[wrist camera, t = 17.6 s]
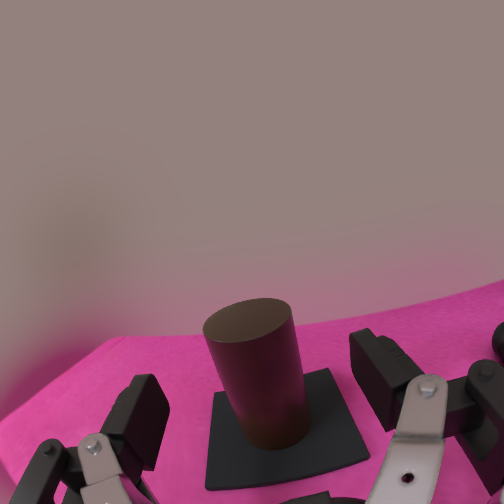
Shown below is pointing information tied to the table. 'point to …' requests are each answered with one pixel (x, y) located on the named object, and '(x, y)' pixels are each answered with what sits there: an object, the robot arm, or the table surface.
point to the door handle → (499, 341)
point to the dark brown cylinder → (261, 370)
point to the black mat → (289, 459)
